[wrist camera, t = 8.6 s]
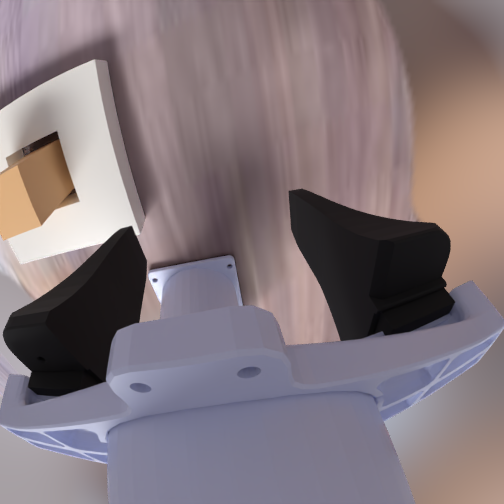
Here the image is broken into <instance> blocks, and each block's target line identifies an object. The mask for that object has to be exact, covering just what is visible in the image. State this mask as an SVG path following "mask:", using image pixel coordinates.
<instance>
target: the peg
mask: <svg viewBox="0 0 504 504" xmlns="http://www.w3.org/2000/svg"><path fill="white" fill-rule="evenodd" d="M74 188H75V187H74V184H73V181H72V178H71V175H70V172H69V169H68V166H67V163H66V160H65V157H64V153H63V150H62V146H61V143H60V139H57V140H55V141H53V142H51V143H49V144H47V145H45V146H43V147H41V148H39V149H37V150H35V151H33V152H31V153H29V154H28V155H26V156H24V157H23V158H21V159H20V160H18V161H17V162H15V163H14V164H12V165H11V166H9V167H8V168H6V169H5V170H3V171H2V172H1V173H0V234H1V236H2V238H3V240H6V239H9V238H11V237H14V236H16V235H19V234H21V233H24V232H27V231H29V230H32V229H35V228H37V227H40V226H42V225H43V223H44V222H45V221H46V220H47V219H48V217H49V216H50V215H51V214H52V213H53V211H54V210H55V209H56V208H57V207H58V206H59V204H60V203H61V202H62V201H63V200H64V199H65V198H66V197H67V196H68V194H69V193H70V192H71V191H72V190H73V189H74Z"/></svg>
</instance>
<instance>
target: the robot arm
mask: <svg viewBox="0 0 504 504" xmlns="http://www.w3.org/2000/svg"><path fill="white" fill-rule="evenodd" d="M289 204H290V218H291V230H292V233H293V235H294V238H295V240H296V243H297V245H298V247H299V249H300V251H301V252H302V254H303V256H304V258H305V259H306V261H307V263H308V264H309V266H310V268H311V270H312V271H313V273H314V275H315V277H316V278H317V280H318V282H319V284H320V286H321V288H322V291H323V293H324V295H325V298H326V300H327V303H328V305H329V308H330V311H331V313H332V316H333V319H334V322H335V324H336V327H337V330H338V334H339V337H340V340H341V341H336V342H325V343H312V344H297V345H285V342H284V339H283V336H282V332H281V329H280V326H279V324H278V322H277V321H276V319H275V317H274V316H273V314H272V313H271V312H269V311H266V310H263V309H261V308H258V307H256V306H252V305H248V306H243V303H242V298H241V293H240V288H239V282H238V277H237V271H236V266H235V261H234V257H233V256H231V255H227V256H221V257H216V258H211V259H205V260H200V261H195V262H190V263H184V264H179V265H174V266H168V267H163V268H158V269H153V270H150V271H149V273H148V277H149V279H150V282H151V284H152V286H153V288H154V291H155V293H156V295H157V297H158V299H159V301H160V304H161V312H160V319H159V320H153V321H147V322H141V323H139V321H140V313H141V307H142V301H143V295H144V289H145V283H146V273H147V260H146V258H145V255H144V253H143V251H142V248H141V246H140V244H139V241H138V239H137V237H136V234H135V232H134V229H133V227H132V226H128V227H124V228H121V229H119V230H118V231H116V232H115V233H114V234H113V235H112V236H111V237H110V238H109V239H108V240H107V241H106V242H105V243H104V244H103V245H102V246H101V247H100V248H99V249H98V250H97V251H96V252H95V253H94V254H93V255H92V256H91V257H89V258H88V259H87V260H86V261H85V262H84V263H83V264H82V265H81V266H80V267H79V268H78V269H77V270H76V271H75V272H73V273H72V274H71V275H70V276H69V277H68V278H66V279H65V280H64V281H62V282H61V283H60V284H58V285H57V286H56V287H54V288H53V289H52V290H50V291H49V292H47V293H46V294H44V295H43V296H41V297H40V298H38V299H37V300H35V301H33V302H32V303H30V304H28V305H27V306H24V307H23V308H21V309H19V310H17V311H15V312H13V313H12V314H11V315H10V317H9V320H8V322H7V324H6V326H5V329H4V331H3V337H4V341H5V343H6V345H7V346H8V348H9V349H10V350H11V351H12V353H13V354H14V355H15V356H16V357H17V358H18V359H19V360H20V361H21V362H22V363H23V364H24V365H25V366H26V367H28V368H29V369H30V370H31V371H32V373H31V376H30V378H29V377H28V376H25V375H17V374H10V375H9V377H8V380H7V384H6V387H5V391H4V395H3V399H2V403H1V408H0V425H1V426H2V427H4V428H5V429H7V430H8V431H10V432H11V433H13V434H15V435H16V436H18V437H20V438H21V439H23V440H25V441H27V442H29V443H30V444H32V445H34V446H36V447H38V448H41V449H45V450H48V451H52V452H57V453H60V454H64V455H68V456H72V457H77V458H81V459H86V460H90V461H95V462H100V463H106V464H107V480H108V503H109V504H415V501H414V498H413V495H412V493H411V490H410V487H409V485H408V482H407V479H406V476H405V474H404V471H403V468H402V466H401V463H400V461H399V458H398V455H397V453H396V450H395V448H394V446H393V443H392V441H391V438H390V436H389V433H388V431H387V428H386V426H385V424H384V421H386V420H388V419H390V418H391V417H393V416H395V415H397V414H399V413H401V412H402V411H404V410H406V409H408V408H410V407H411V406H413V405H415V404H416V403H418V402H420V401H421V400H423V399H424V398H426V397H428V396H429V395H431V394H432V393H434V392H435V391H437V390H438V389H440V388H442V387H443V386H445V385H446V384H447V383H449V382H450V381H452V380H453V379H455V378H456V377H458V376H459V375H461V374H462V373H463V372H465V371H466V370H468V369H469V368H471V367H472V366H473V365H475V364H476V363H477V362H478V361H479V360H480V359H481V358H482V357H483V355H484V354H485V353H486V352H487V350H488V349H489V348H490V347H491V345H492V344H493V343H494V341H495V340H496V338H497V337H498V336H499V335H500V333H501V332H502V330H503V329H504V319H503V317H502V316H501V315H500V314H499V312H498V311H497V310H496V308H495V307H494V306H493V304H492V303H491V302H490V301H489V300H488V298H487V297H486V296H485V295H484V294H483V292H482V291H481V290H480V289H479V288H478V287H477V286H476V284H475V283H474V282H473V281H468V282H467V283H464V284H462V285H460V286H458V287H456V288H454V289H453V290H452V291H451V292H450V293H448V292H447V291H446V290H445V288H444V287H446V285H447V284H446V281H445V280H444V279H443V278H442V274H443V272H444V269H445V266H446V263H447V261H448V258H449V254H450V238H449V236H448V235H447V234H446V233H445V232H444V231H443V230H442V229H441V228H440V227H439V226H438V225H436V224H435V223H427V222H411V221H403V220H395V219H389V218H384V217H380V216H375V215H371V214H367V213H364V212H360V211H357V210H354V209H351V208H348V207H346V206H343V205H340V204H338V203H335V202H333V201H330V200H328V199H326V198H324V197H321V196H319V195H317V194H314V193H312V192H310V191H307V190H304V189H297V190H292V191H289ZM229 264H232V265H231V266H227V265H229ZM153 278H156V279H157V280H155V279H153Z"/></svg>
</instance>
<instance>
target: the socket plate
mask: <svg viewBox="0 0 504 504" xmlns="http://www.w3.org/2000/svg"><path fill="white" fill-rule="evenodd" d="M56 131H57V132H58V136H59V139H60V143H61V146H62V150H63V153H64V157H65V160H66V163H67V166H68V169H69V172H70V175H71V178H72V181H73V184H74V187H75V190H76V193H74V194H71V195H68V196H67V197H66V198H65V199H64V200H63V201H62V202H61V203H60V204H59V206H58V207H57V208H56V209H55V210H54V211H53V213H52V214H51V215H50V216H49V217H48V219H47V220H46V221H45V222H44V223H43V225H42V226H40V227H37V228H35V229H32V230H29V231H27V232H24V233H21V234H19V235H16V236H14V237H11V238H9V239H7V240H8V242H9V244H10V246H11V248H12V249H13V251H14V253H15V255H16V257H17V259H18V260H19V262H20V264H24V263H28V262H31V261H35V260H38V259H42V258H46V257H49V256H53V255H57V254H61V253H65V252H69V251H73V250H76V249H80V248H84V247H89V246H93V245H97V244H101V243H105V242H106V241H107V240H108V239H109V238H110V237H111V236H112V235H113V234H114V233H115V232H116V231H118V230H119V229H121V228H124V227H128V226H132V227H133V229H134V232H135V234H136V235H140V234H141V231H142V228H143V225H144V221H145V215H144V212H143V209H142V205H141V202H140V199H139V196H138V193H137V189H136V186H135V182H134V179H133V176H132V172H131V168H130V165H129V161H128V157H127V154H126V150H125V146H124V142H123V138H122V134H121V129H120V125H119V121H118V116H117V112H116V107H115V102H114V97H113V92H112V87H111V81H110V75H109V69H108V63H107V61H104V60H97V59H94V60H92V61H89V62H87V63H84V64H82V65H80V66H77V67H75V68H73V69H71V70H69V71H67V72H64V73H62V74H60V75H58V76H56V77H54V78H52V79H51V80H49V81H47V82H45V83H43V84H41V85H39V86H38V87H36V88H34V89H32V90H31V91H29V92H27V93H26V94H24V95H23V96H21V97H19V98H18V99H16V100H15V101H13V102H12V103H10V104H9V105H7V106H6V107H4V108H3V109H1V110H0V173H1V172H2V171H3V170H5V169H6V168H8V167H9V166H11V165H12V164H14V163H15V162H17V161H18V160H20V159H21V158H23V157H24V154H23V151H22V148H24V147H25V146H27V145H29V144H31V143H33V142H35V141H37V140H39V139H41V138H43V137H45V136H47V135H49V134H51V133H53V132H56Z"/></svg>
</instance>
